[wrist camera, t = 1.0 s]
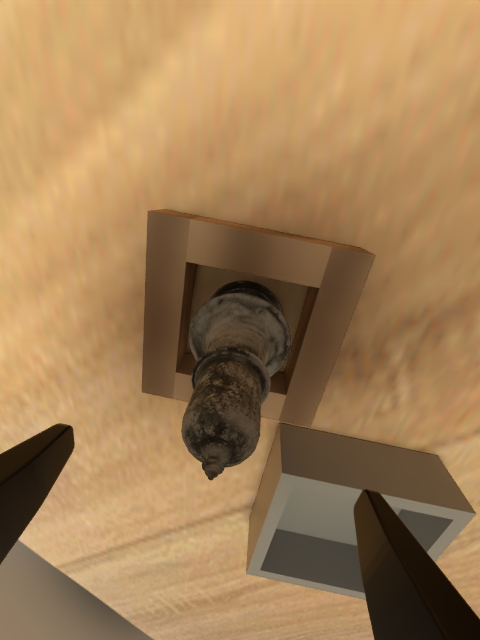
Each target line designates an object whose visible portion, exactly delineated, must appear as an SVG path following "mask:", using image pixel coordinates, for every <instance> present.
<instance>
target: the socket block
mask: <svg viewBox="0 0 480 640" xmlns="http://www.w3.org/2000/svg"><path fill="white" fill-rule="evenodd" d="M375 256H376V255H374V254H372V253H370V252H368V251H366V250H364V249H362V248H359V247H354V246H349V245H344V244H339V243H334V242H329V241H324V240H318V239H313V238H308V237H303V236H298V235H293V234H288V233H283V232H278V231H272V230H267V229H262V228H257V227H252V226H247V225H242V224H237V223H232V222H226V221H221V220H216V219H211V218H206V217H201V216H196V215H191V214H186V213H180V212H175V211H170V210H165V209H163V210H152V211H148V222H147V252H146V281H145V311H144V341H143V370H142V392H143V393H148V394H153V395H158V396H162V397H167V398H172V399H177V400H182V401H186V402H189V401H190V399H191V396H192V394H193V391H194V389H193V387H192V380H191V377H192V371H193V368H194V366H195V364H196V362H197V361H196V359H195V358H194V355H192V354H187V353H186V348H187V339H188V330H189V321H190V312H191V303H192V294H193V285H194V275H195V266H196V264H200V265H205V266H210V267H215V268H220V269H225V270H230V271H235V272H240V273H245V274H251V275H256V276H261V277H266V278H271V279H276V280H281V281H286V282H291V283H296V284H301V285H306V286H310V288H309V292H308V295H307V298H306V302H305V305H304V309H303V312H302V315H301V319H300V322H299V326H298V329H297V332H296V336H295V339H294V343H293V346H292V349H291V353H290V356H289V360H288V363H287V366H286V370H285V373H280V372H276V373H275V374H273V375H272V376H271V377H270V391H269V394H268V397H267V398H266V400H265V401H264V402H263V404H262V405H261V417H264V418H268V419H273V420H278V421H283V422H288V423H292V424H297V425H302V426H307V427H311V424H312V422H313V419H314V416H315V414H316V411H317V409H318V406H319V403H320V401H321V398H322V395H323V393H324V390H325V387H326V385H327V382H328V380H329V377H330V374H331V372H332V369H333V366H334V364H335V361H336V358H337V356H338V353H339V351H340V348H341V345H342V343H343V340H344V337H345V335H346V332H347V329H348V327H349V324H350V322H351V319H352V316H353V314H354V311H355V308H356V306H357V303H358V300H359V298H360V295H361V293H362V290H363V287H364V285H365V282H366V279H367V277H368V274H369V271H370V269H371V266H372V264H373V261H374V258H375Z"/></svg>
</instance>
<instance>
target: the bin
mask: <svg viewBox="0 0 480 640" xmlns="http://www.w3.org/2000/svg"><path fill="white" fill-rule="evenodd" d="M364 489H369V490H374V491H377V492H379V493H380V494H381V495H382V496H383V498H384V499H385V500H386V501H387V503H388V504H389V505H390V506H391V508H392V509H393V510H394V512H395V513H396V514H397V515H398V517H399V518H400V519H401V520H402V522H403V523H404V524H405V525H406V527H407V528H408V529H409V530H410V532H411V533H412V534H413V536H414V537H415V538H416V539H417V541H418V542H419V543H420V544H421V546H422V547H423V548H424V549H425V551H426V552H427V553H428V554H429V556H430V557H431V558H432V559H433V561H434V562H435V561H436V560H437V559H438V557H439V556H440V555H441V554H442V553H443V552H444V551H445V549H446V548H447V547H448V546H449V545H450V544H451V543H452V541H453V540H454V539H455V538H456V537H457V536H458V535H459V533H460V532H461V531H462V530H463V529H464V528H465V526H466V525H467V524H468V523H469V522H470V521H471V520H472V518H473V517H474V516H475V515H476V513H475V511H474V510H473V508H472V507H471V505H470V504H469V502H468V501H467V499H466V498H465V496H464V495H463V493H462V491H461V490H460V488H459V487H458V485H457V484H456V482H455V481H454V479H453V478H452V476H451V475H450V473H449V472H448V470H447V469H446V467H445V466H444V464H443V463H442V461H441V460H440V458H439V457H438V456H437V455H432V454H427V453H422V452H417V451H413V450H408V449H403V448H398V447H393V446H389V445H384V444H379V443H374V442H369V441H365V440H360V439H355V438H350V437H345V436H340V435H336V434H331V433H326V432H321V431H316V430H312V429H307V428H302V427H297V426H292V425H288V424H283V423H279V426H278V429H277V432H276V436H275V439H274V442H273V445H272V448H271V451H270V455H269V458H268V461H267V464H266V467H265V471H264V474H263V477H262V480H261V483H260V487H259V490H258V493H257V496H256V499H255V502H254V506H253V509H252V512H251V515H250V519H249V535H248V551H247V568H246V574H249V575H254V576H258V577H263V578H268V579H272V580H277V581H281V582H286V583H291V584H295V585H300V586H304V587H309V588H314V589H318V590H323V591H327V592H332V593H337V594H341V595H346V596H350V597H355V598H359V599H364V600H366V597H365V592H364V587H363V582H362V577H361V570H360V563H359V555H358V547H357V538H356V530H355V522H354V513H353V510H354V505H355V503H356V501H357V499H358V497H359V496H360V494H361V492H362V490H364Z"/></svg>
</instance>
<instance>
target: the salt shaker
mask: <svg viewBox="0 0 480 640" xmlns="http://www.w3.org/2000/svg"><path fill="white" fill-rule="evenodd" d="M189 342H190V349H191V351H192V353H193V355H194V358H195V359H196V361H197V362H196V364H195V366H194V368H193V371H192V377H191V380H192V387H193V389H194V391H193V394H192V396H191V399H190V401H189V404H188V407H187V409H186V412H185V414H184V417H183V422H182V431H181V432H182V438H183V441H184V443H185V445H186V447H187V448H188V450H189V452H190V453H191V454H192V455H193V456H194V457H195V458H196V459H197V460H199V461H200V462H202V469H203V470H204V471H205V474H206V475H207V476H208V479H209V480H213V478H215V477H217V476H218V474H221V473H222V472H223V470H224V468H225V467H232V466H235V465H238V464H240V463H241V462H243V461H244V460H246V459H247V458H248V457H249V456H251V454H252V453H253V452H254V450H255V449H256V446H257V443H258V440H259V437H260V419H261V405H262V404H263V402H264V401H265V400H266V398H267V397H268V394H269V391H270V377H271V376H272V375H273V374H275V373H276V372H277V371H278V370H279V369H280V368H281V367H282V365H283V364H284V363H285V361H286V360H287V357H288V354H289V351H290V348H291V335H290V331H289V328H288V324H287V322H286V320H285V319H284V317H283V313H282V309H281V306H280V303H279V301H278V300H277V298H276V297H275V295H274V294H273V293H272V292H271V291H269V290H268V289H267V288H266V287H264V286H262V285H260V284H258V283H254V282H250V281H236V282H233V283H229V284H227V285H225V286H223V287H222V288H220V289H218V291H217V292H216V293H215V294H214V295H213V296H212V298H211V300H210V301H209V302H207V303H205V304H204V305H203V306H202V307H201V308H200V309H199V311H198V312H197V313H196V314H195V316H194V318H193V320H192V323H191V325H190V331H189Z"/></svg>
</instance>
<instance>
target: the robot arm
mask: <svg viewBox="0 0 480 640" xmlns="http://www.w3.org/2000/svg"><path fill="white" fill-rule="evenodd" d="M74 444H75V443H74V434H73V428H72V426H70V425H66V424H61V423H59V424H56V425H53V426H52V427H50V428H48V429H46V430H44V431H42V432H40V433H39V434H37V435H35V436H33V437H31V438H29V439H27V440H26V441H24V442H22V443H20V444H18V445H16V446H14V447H13V448H11V449H9V450H7V451H5V452H3V453H2V454H0V564H1V563H2V561H3V560H4V558H5V557H6V556H7V554H8V553H9V551H10V550H11V548H12V547H13V546H14V544H15V543H16V541H17V540H18V538H19V537H20V536H21V534H22V533H23V531H24V530H25V528H26V527H27V526H28V524H29V523H30V521H31V520H32V518H33V517H34V516H35V514H36V513H37V511H38V510H39V508H40V507H41V505H42V504H43V502H44V500H45V499H46V497H47V495H48V494H49V492H50V490H51V488H52V487H53V485H54V483H55V481H56V480H57V478H58V476H59V475H60V473H61V471H62V469H63V468H64V466H65V464H66V462H67V461H68V459H69V457H70V455H71V454H72V452H73V449H74ZM353 513H354V522H355V530H356V538H357V547H358V555H359V563H360V570H361V577H362V582H363V587H364V592H365V597H366V601H367V606H368V611H369V616H370V620H371V625H372V630H373V635H374V639H375V640H480V619H479V618H478V616H477V615H476V614H475V612H474V611H473V610H472V609H471V607H470V606H469V605H468V604H467V602H466V601H465V600H464V599H463V597H462V596H461V595H460V594H459V592H458V591H457V590H456V588H455V587H454V586H453V585H452V583H451V582H450V581H449V580H448V578H447V577H446V576H445V575H444V573H443V572H442V571H441V570H440V568H439V567H438V566H437V565H436V563H435V562H434V561H433V559H432V558H431V557H430V556H429V554H428V553H427V552H426V551H425V549H424V548H423V547H422V546H421V544H420V543H419V542H418V541H417V539H416V538H415V537H414V536H413V534H412V533H411V532H410V530H409V529H408V528H407V527H406V525H405V524H404V523H403V522H402V520H401V519H400V518H399V517H398V515H397V514H396V513H395V512H394V510H393V509H392V508H391V506H390V505H389V504H388V503H387V501H386V500H385V499H384V498H383V496H382V495H381V494H380V493H379V492H377V491H374V490H369V489H364V490H362V492H361V494H360V496H359V497H358V499H357V501H356V503H355V505H354V510H353Z"/></svg>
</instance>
